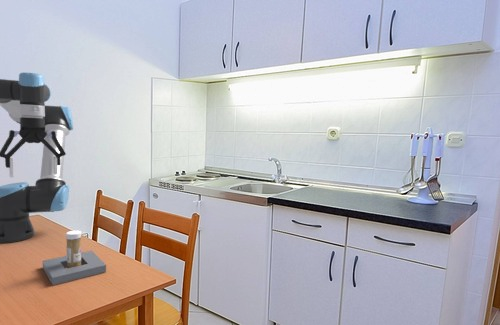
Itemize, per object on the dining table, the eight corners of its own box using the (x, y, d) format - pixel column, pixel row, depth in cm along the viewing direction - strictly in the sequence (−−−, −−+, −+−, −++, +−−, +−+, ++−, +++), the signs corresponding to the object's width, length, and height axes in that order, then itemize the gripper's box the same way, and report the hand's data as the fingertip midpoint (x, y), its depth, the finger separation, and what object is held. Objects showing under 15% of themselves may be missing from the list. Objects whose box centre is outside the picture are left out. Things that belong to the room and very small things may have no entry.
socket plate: (42, 267, 113) (42, 260, 112) (91, 256, 123) (91, 250, 123) (52, 285, 101) (52, 277, 100) (106, 271, 111) (106, 264, 111)
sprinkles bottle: (81, 271, 111) (80, 233, 110) (65, 273, 109) (65, 234, 108) (81, 266, 115) (81, 229, 114) (67, 268, 113) (66, 230, 112)
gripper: (-11, 115, 106) (-9, 179, 108) (73, 119, 122) (74, 174, 125) (-13, 115, 111) (-10, 176, 113) (68, 118, 128) (69, 172, 130)
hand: (34, 175), depth 119 cm, fingers open, 13 cm apart
